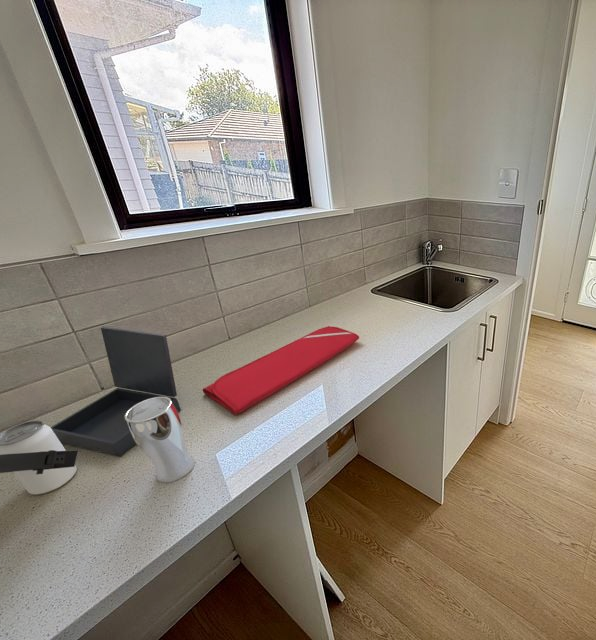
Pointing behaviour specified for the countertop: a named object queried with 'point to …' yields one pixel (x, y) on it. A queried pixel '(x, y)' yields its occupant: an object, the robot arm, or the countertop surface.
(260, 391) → the dish drying mat
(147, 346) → the lid
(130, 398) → the tray
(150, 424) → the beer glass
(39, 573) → the countertop surface
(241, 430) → the countertop surface
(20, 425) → the can
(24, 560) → the countertop surface
